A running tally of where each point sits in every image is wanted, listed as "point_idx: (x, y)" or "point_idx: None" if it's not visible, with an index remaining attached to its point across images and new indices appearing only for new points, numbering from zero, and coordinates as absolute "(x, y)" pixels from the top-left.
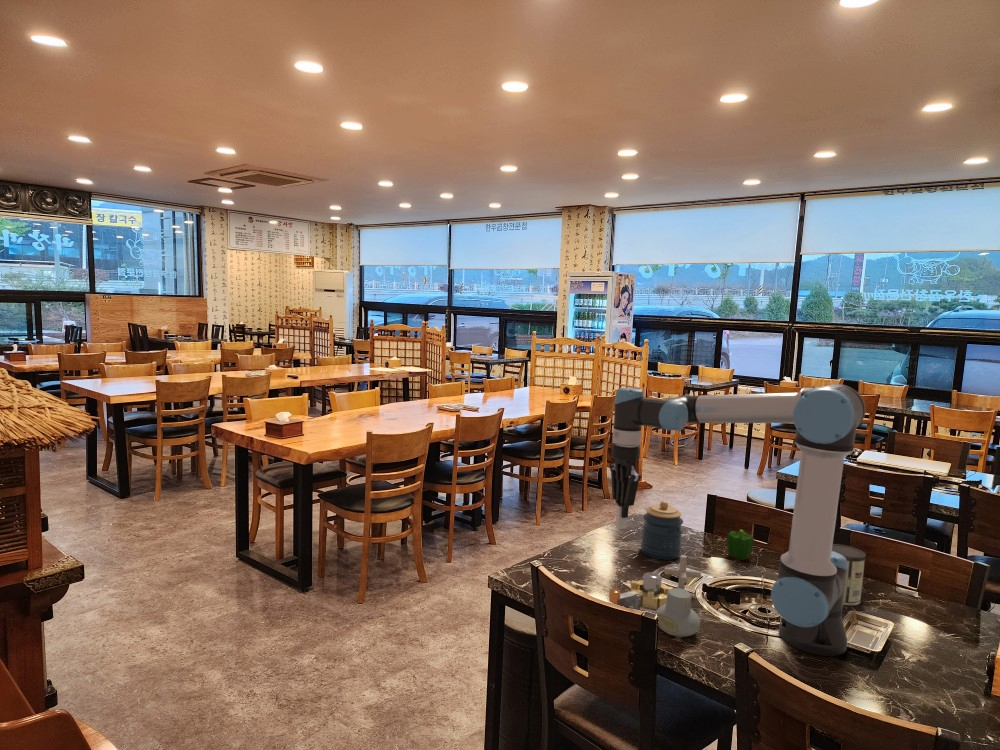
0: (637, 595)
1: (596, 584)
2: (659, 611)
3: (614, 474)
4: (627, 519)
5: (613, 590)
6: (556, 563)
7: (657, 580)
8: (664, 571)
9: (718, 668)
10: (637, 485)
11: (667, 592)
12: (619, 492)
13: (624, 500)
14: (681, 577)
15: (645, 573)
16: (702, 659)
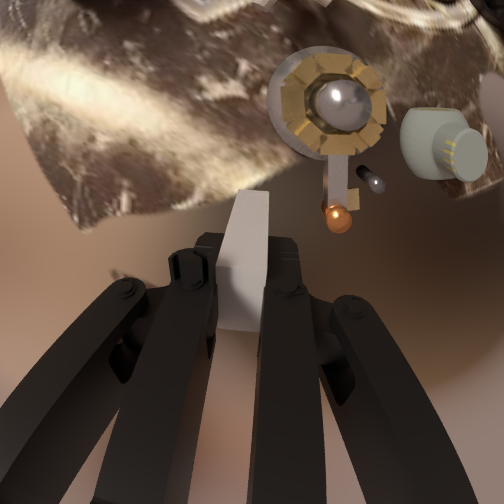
0: (379, 188)
1: (199, 164)
2: (428, 176)
3: (49, 499)
4: (267, 211)
5: (334, 222)
6: (95, 202)
7: (371, 110)
8: (255, 6)
9: (499, 168)
10: (469, 491)
11: (455, 175)
12: (200, 406)
13: (322, 383)
14: (324, 2)
15: (324, 112)
16: None
